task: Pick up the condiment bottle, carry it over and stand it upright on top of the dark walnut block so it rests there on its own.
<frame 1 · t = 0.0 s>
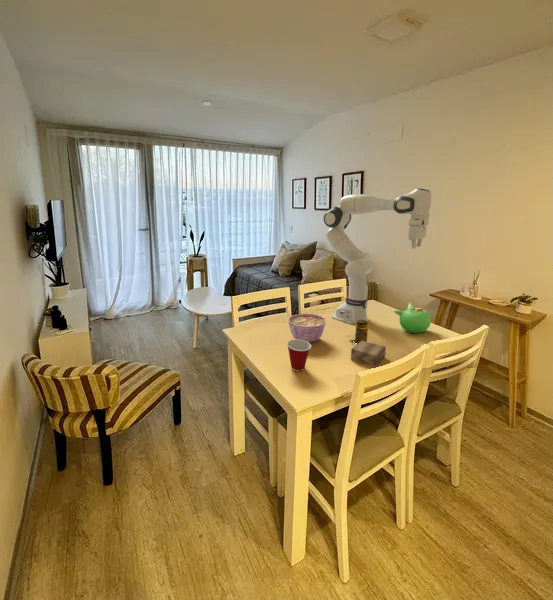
hand: (416, 247, 179), 48 cm above the table, tool pointing down, fingers open, 8 cm apart
bowl of food: (306, 340, 180), on the table
walnut block: (367, 359, 159), on the table
plastic cup: (298, 368, 150), on the table
condiment: (359, 343, 177), on the table
toy bird: (412, 331, 192), on the table
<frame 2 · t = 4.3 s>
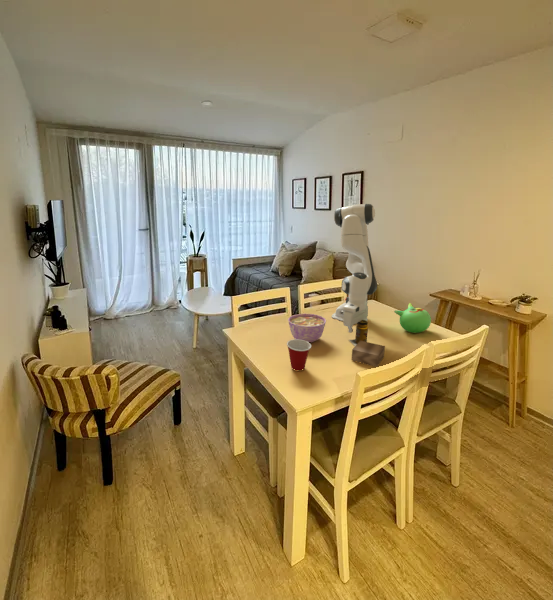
hand: (355, 329, 175), 7 cm above the table, tool pointing down, fingers open, 8 cm apart
condiment: (359, 342, 177), on the table, touching gripper
everything else where it was.
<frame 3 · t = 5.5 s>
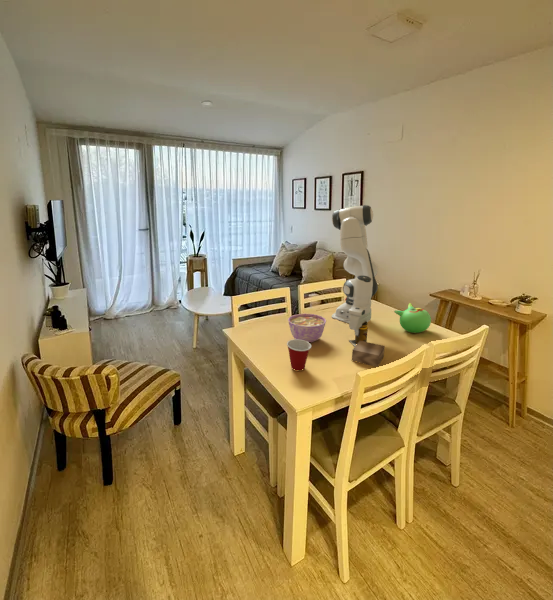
hand: (359, 332, 175), 6 cm above the table, tool pointing down, fingers closed on condiment, 6 cm apart
condiment: (358, 343, 176), on the table, touching gripper
everything else where it was.
when the fingers open (13 cm above the table, at t = 15.6 s): condiment moves 3 cm, resting on walnut block.
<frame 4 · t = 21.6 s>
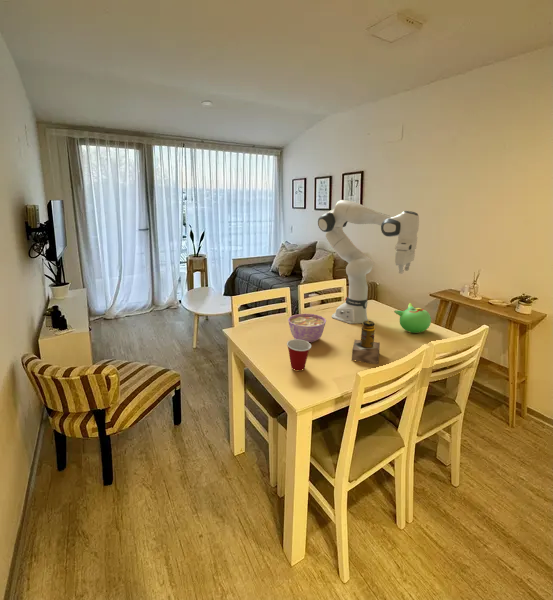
hand: (403, 271, 171), 37 cm above the table, tool pointing down, fingers open, 8 cm apart
walnut block: (365, 357, 161), on the table, touching condiment
condiment: (364, 346, 159), point 5 cm above the table, touching walnut block
everything else where it was.
at the end: condiment inside the target area on the walnut block (0.8 cm from its centre), point 5.8 cm above the walnut block's base; condiment tilted 0°; the gripper is holding nothing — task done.
